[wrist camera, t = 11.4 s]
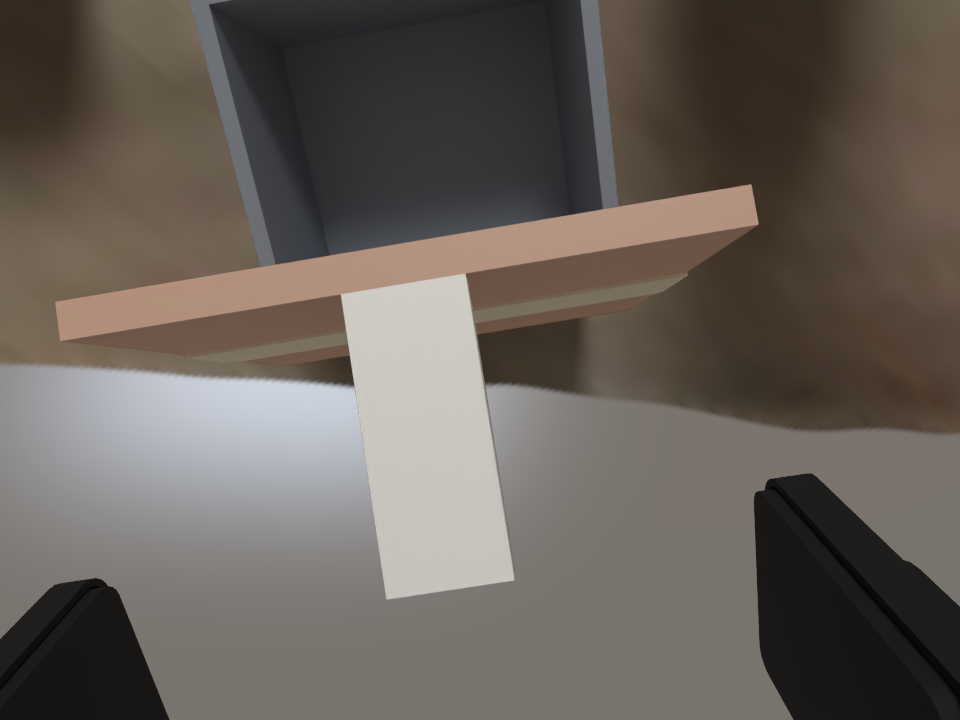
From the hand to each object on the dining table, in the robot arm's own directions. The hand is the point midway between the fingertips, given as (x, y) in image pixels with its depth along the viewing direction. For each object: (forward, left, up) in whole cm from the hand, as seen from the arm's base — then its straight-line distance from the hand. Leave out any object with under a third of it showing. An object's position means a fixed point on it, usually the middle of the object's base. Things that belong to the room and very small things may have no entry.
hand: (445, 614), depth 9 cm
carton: (0, -7, -27) cm, 28 cm away
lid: (0, -3, -11) cm, 11 cm away
